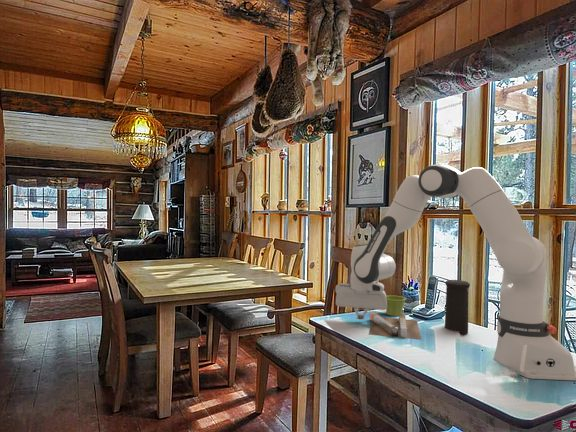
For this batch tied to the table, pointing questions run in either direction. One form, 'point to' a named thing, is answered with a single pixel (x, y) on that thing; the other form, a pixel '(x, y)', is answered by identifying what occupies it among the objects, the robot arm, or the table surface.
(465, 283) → the container
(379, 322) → the loose tong leg
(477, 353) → the table surface
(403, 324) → the fixed tong leg
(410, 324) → the walnut board
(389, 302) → the plant pot
